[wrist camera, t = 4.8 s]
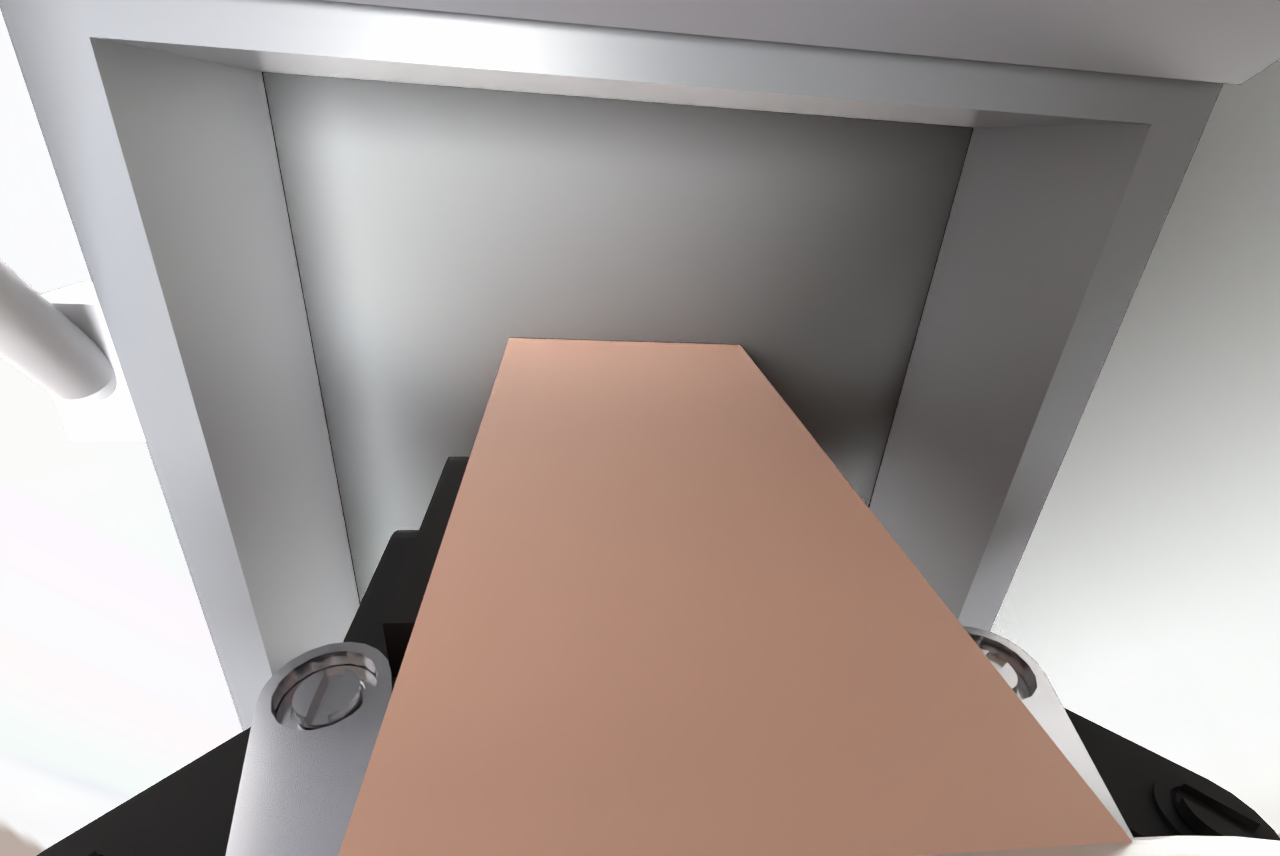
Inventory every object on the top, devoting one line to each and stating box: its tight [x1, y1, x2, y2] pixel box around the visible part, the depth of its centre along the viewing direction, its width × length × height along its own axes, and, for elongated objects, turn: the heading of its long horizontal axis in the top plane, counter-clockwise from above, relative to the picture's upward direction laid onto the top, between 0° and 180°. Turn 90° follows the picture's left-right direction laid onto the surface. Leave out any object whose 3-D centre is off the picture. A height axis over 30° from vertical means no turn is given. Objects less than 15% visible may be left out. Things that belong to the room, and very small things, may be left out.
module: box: [338, 338, 1132, 856], centre depth 8 cm, size 5×5×13 cm
